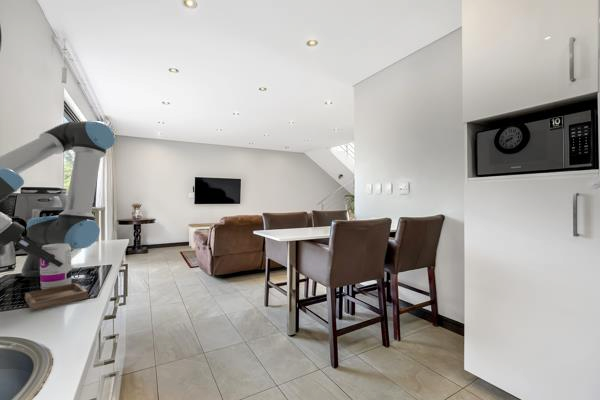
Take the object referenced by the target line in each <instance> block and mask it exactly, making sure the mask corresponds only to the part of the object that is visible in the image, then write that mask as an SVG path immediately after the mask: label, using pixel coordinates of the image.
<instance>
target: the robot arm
mask: <svg viewBox="0 0 600 400" xmlns="http://www.w3.org/2000/svg"><path fill="white" fill-rule="evenodd" d="M115 141H116V140H115V134H114V132H113V131H112V129H111V127H110V126H109V125H107V123H105V122H103V121H100V120H87V121H67V122H65V123H64V122H63V123H61V124H59V125H57V126H54V127H52V128H50V129H48V130H46V131H43V132H42V133H40V134H39V136H38V137H37V138H36V139H34V140H31V141H29V142H28V143H25V144H24V145H21V146H19V147H17V148H15V149H13V150H11V151H8V152H6V153H4V154H2V155H0V203H1V202H3V201H4V200H6V199H7V198H8V197H10V196H11V195H13V194H14V193H15V192H17V191H19V189H20V188H22V187H23V186H24V184H25V180H24V178H23V177H22V176H21V175H20V173H23V172H25V171H26V170H27V169H30V168H32V167H34V166H35V165H36V164H39V163H41V162H43V161H44V160H46V159H49V157H51V156H53V155H61V154H63V153H65V152H68V151H71V150H72V151H73V153H74V158H73V164H72V170H71V174H70V181H69V186H68V192H67V197H66V202H65V207H64V210H63V211H61V212H60V213H59V214H58V215H52V216H41V217H34V218H30V219H28V220H27V222H26V227H25V226H23V225H22V224H20V223H19V222H17V221H13V219H12V218H11V217H9V216H8V215H6V214H5V213H3V212H1V211H0V246H1V247H4V246H5V247H6V245H8V244H10V243H11V242H14V243H15V244H14V246H15V247H16V248H18V250H19V249H20V250H23V251H24V252H26V253H27V254H26V255H27V256H26V259H25V261H24V263H23V266H22V268H21V276H22V277H25V278H40V258H41V259H42V260H44V261H45V263H44V264H45V265H47V264H50V265H52V266H54V267H55V268H57V269H59V270H60V271H62V272H64V273H66V274H67V273H68V272H69V271H70V270H71V271H72V269H73V268H74V267H73V266H72V264H71V265H69V264H67V263H66V262H64V261H62V260H61V259H59V258H57V257H56V256H54V255H52V254H50V253H48V252H47V251H45V250H43V249H42V246H43V245H48V244H55V243H69V245H70V247H71V250H79V249H80V250H82V249H87V248H88V247H90V246H92V245H93V244H95V243H96V242H97V240H98V239H99V236H100V226H99V224H98V222H96V221H95V220H96V219H95V218H96V216H95V215H94V214H93V211H92V210H93V206H94V205H93V204H94V200H95V194H96V189H97V181H98V175H99V169H100V163H101V159H102V158H103V157H105V156H106V155H107V150H108V149H111V147H113V146H114V145H115ZM25 231H26V235H25V236H22V235H21V234H23V233H24V232H25ZM48 256H49V257H48ZM47 257H48V258H47ZM46 258H47V259H46Z"/></svg>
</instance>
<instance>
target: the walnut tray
mask: <svg viewBox="0 0 600 400" xmlns="http://www.w3.org/2000/svg"><path fill="white" fill-rule="evenodd" d="M88 293H89V292H88V290H87V289H85V288H84V287H83V286H82V285H80V284H79V283H77V282H73V283H72V282H71V284H67V285H63V286H58V287H53V288H48V289H38V290H33V291H30V292H25V293H24V300H25V302H26V304H27V305H28V306H29V308H30V309H31V311H32V312H36V311H40V310H41V311H42V310H45V309H49V308H51V307H57V306H60V305H64V304H69V303H72V302H78V301H80V300H85V299H88V298H89V297H88V296H89V295H88Z"/></svg>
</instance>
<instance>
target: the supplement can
mask: <svg viewBox="0 0 600 400" xmlns="http://www.w3.org/2000/svg"><path fill="white" fill-rule="evenodd" d="M42 249H43V250H45V251H47V252H48V253H50V254H52V255H54V256H56V257H57V258H59V259H61V260H62V261H64V262H66V263H67V264H69V265H71V266H72V249H71V247H70V245H69V243H55V244H48V245H43V246H42ZM48 257H49V256H48ZM48 257H47V258H48ZM47 258H46V259H47ZM44 263H45V261H44V260H42V259H41V258H40V277H39V279H40V280H39V284H40V286H39V288H40V290H43V289H48V288H53V287H58V286H63V285H67V284H72V269H71V270H70V271H69V272H68V273H67V274H66V273H64V272H62V271H60V270H59V269H57V268H55V267H54V266H52V265H50V264H47V265H45V264H44Z"/></svg>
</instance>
